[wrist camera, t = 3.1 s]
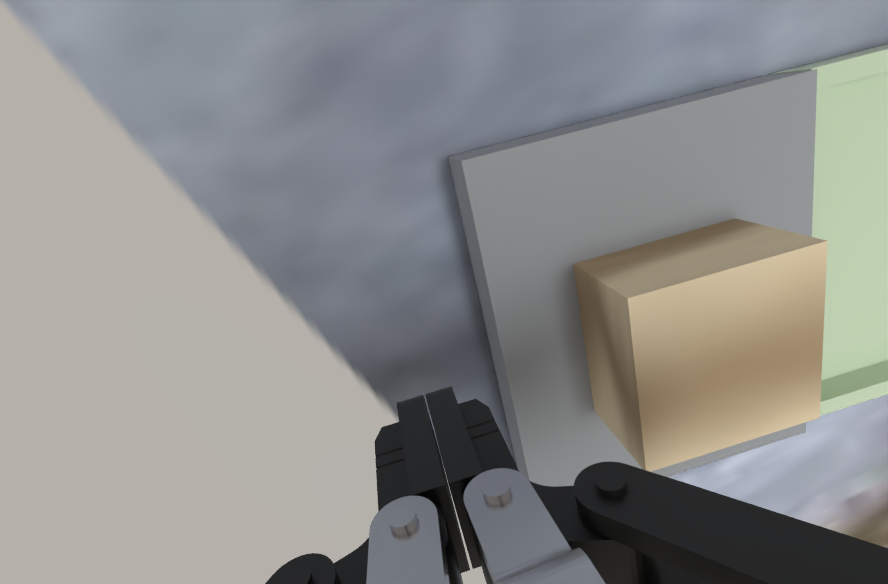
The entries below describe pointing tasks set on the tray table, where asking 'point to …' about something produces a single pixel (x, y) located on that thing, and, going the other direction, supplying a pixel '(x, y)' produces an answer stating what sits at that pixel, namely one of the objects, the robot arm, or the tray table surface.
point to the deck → (616, 238)
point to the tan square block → (704, 338)
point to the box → (852, 223)
